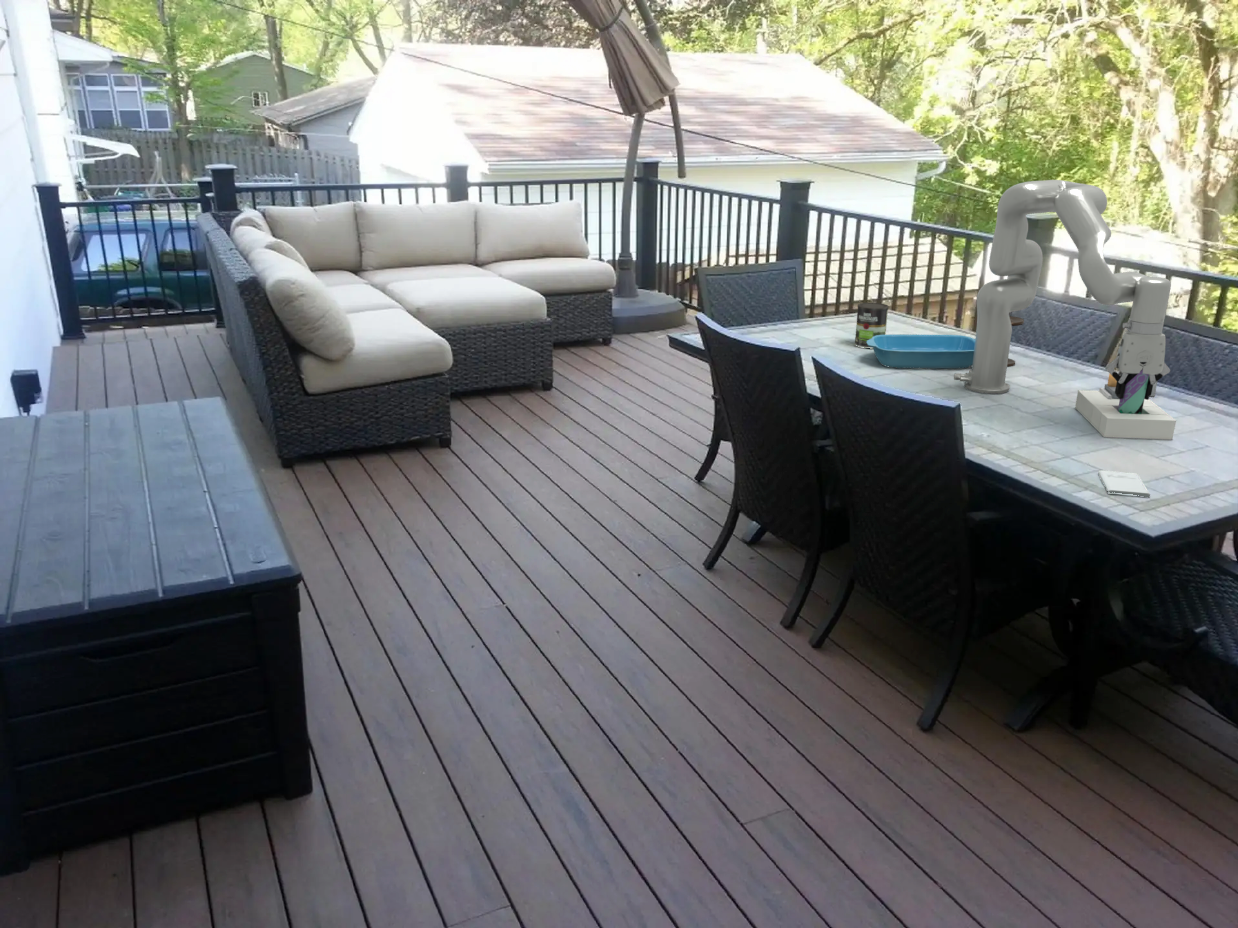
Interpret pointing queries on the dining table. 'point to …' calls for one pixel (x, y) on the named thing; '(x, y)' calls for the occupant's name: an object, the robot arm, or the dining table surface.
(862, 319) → the coffee can
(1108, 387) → the bar
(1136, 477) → the external hard drive
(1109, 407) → the block
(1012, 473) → the dining table surface
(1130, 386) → the spray can
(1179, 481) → the dining table surface
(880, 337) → the casserole dish
